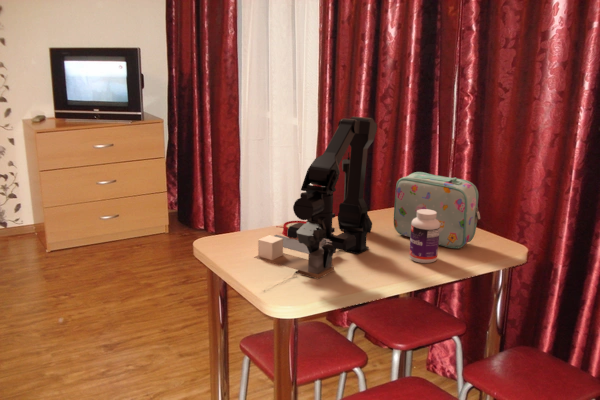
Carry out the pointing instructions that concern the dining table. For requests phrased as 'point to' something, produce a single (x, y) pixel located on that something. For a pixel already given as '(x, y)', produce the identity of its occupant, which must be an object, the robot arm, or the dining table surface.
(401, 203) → the lunch box
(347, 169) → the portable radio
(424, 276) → the dining table surface
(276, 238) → the cream block
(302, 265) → the walnut strip
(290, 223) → the alarm clock
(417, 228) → the pill bottle
